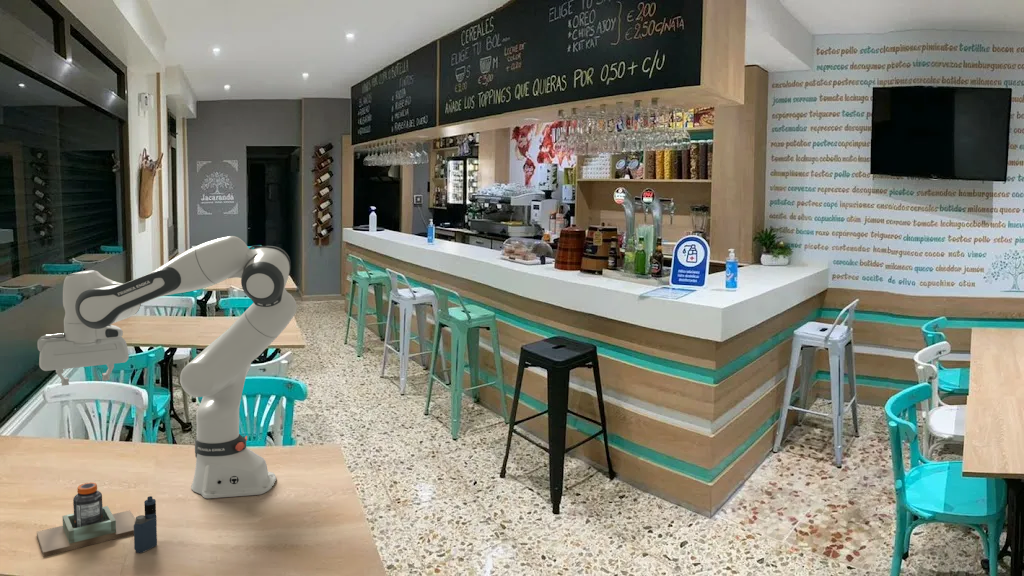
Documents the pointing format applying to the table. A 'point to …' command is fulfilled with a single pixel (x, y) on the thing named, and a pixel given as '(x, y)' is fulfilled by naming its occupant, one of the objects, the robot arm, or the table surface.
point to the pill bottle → (87, 505)
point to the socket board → (85, 532)
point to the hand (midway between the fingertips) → (86, 382)
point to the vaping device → (146, 527)
